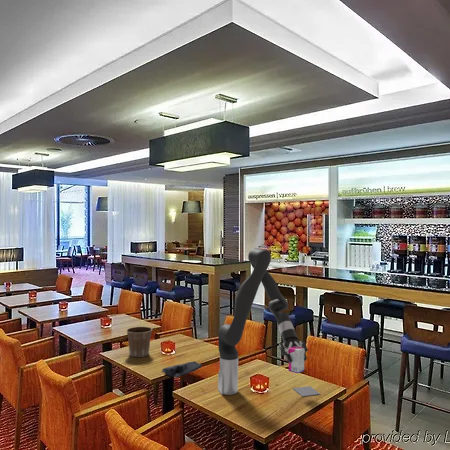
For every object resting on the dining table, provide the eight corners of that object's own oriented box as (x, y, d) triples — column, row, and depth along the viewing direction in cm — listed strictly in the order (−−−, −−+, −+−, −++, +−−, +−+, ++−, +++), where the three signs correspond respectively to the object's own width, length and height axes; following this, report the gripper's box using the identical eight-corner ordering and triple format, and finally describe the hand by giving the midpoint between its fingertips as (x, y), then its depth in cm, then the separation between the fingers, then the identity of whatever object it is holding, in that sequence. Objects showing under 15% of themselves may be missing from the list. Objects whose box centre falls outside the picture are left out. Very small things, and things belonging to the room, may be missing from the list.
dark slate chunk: (205, 370, 235) (205, 362, 235) (174, 379, 220) (174, 370, 220) (189, 363, 246) (189, 355, 246) (158, 371, 231) (159, 363, 231)
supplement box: (304, 370, 203) (304, 347, 203) (298, 373, 199) (298, 350, 199) (294, 367, 207) (294, 345, 207) (288, 370, 203) (288, 348, 203)
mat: (302, 396, 200) (302, 396, 200) (292, 388, 209) (292, 388, 209) (320, 394, 203) (320, 393, 203) (309, 386, 212) (309, 386, 212)
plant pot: (120, 354, 259) (121, 329, 259) (141, 349, 271) (142, 325, 271) (135, 360, 248) (136, 334, 248) (156, 354, 260) (157, 329, 260)
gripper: (277, 329, 208) (287, 359, 197) (302, 327, 212) (313, 356, 201) (273, 336, 213) (282, 366, 202) (297, 334, 217) (308, 363, 206)
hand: (298, 361), depth 202 cm, fingers closed on supplement box, 7 cm apart
